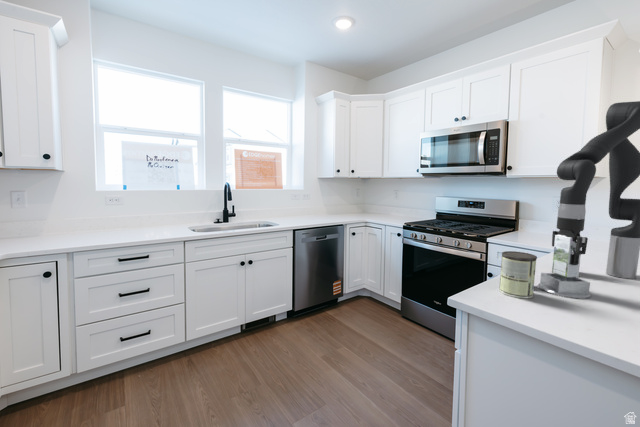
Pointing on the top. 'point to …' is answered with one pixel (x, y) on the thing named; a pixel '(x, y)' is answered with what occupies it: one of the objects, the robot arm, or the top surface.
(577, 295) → the collar
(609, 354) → the top surface
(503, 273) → the coffee can
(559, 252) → the syrup box
